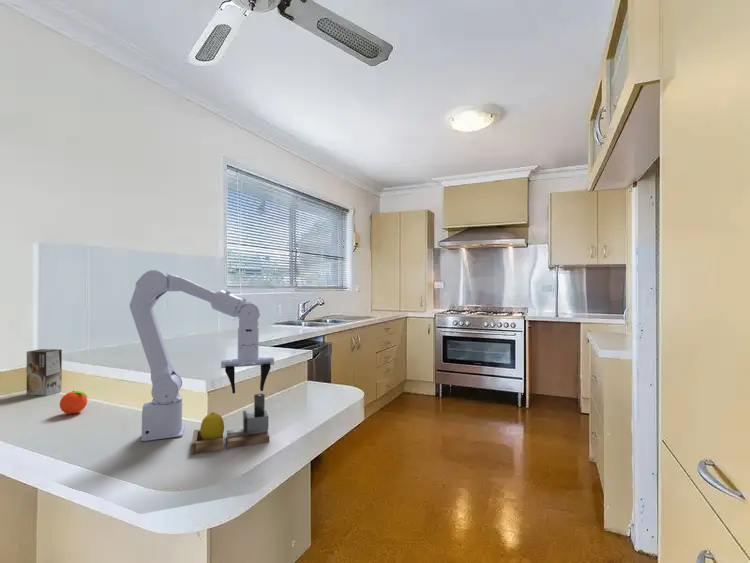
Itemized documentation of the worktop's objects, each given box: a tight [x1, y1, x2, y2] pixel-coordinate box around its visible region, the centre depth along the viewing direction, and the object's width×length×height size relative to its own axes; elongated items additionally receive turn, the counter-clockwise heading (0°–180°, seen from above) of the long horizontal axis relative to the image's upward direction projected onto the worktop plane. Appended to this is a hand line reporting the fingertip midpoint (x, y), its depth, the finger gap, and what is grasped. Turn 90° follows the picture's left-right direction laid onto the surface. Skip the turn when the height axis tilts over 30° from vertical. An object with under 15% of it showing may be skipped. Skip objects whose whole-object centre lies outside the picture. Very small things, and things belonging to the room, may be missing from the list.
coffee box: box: [26, 348, 63, 396], centre depth 147 cm, size 9×6×16 cm
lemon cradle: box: [190, 428, 224, 455], centre depth 98 cm, size 7×10×2 cm
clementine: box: [59, 390, 89, 415], centre depth 123 cm, size 8×7×7 cm
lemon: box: [200, 411, 225, 441], centre depth 99 cm, size 6×6×8 cm
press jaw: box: [242, 393, 269, 433], centre depth 103 cm, size 6×6×8 cm
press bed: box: [226, 428, 270, 449], centre depth 102 cm, size 10×8×2 cm
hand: (247, 391), depth 113 cm, fingers open, 7 cm apart
